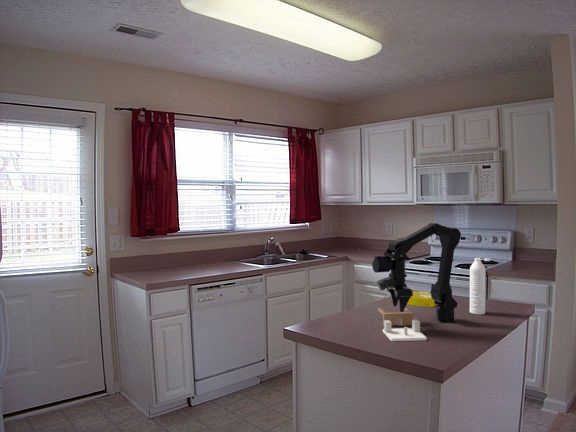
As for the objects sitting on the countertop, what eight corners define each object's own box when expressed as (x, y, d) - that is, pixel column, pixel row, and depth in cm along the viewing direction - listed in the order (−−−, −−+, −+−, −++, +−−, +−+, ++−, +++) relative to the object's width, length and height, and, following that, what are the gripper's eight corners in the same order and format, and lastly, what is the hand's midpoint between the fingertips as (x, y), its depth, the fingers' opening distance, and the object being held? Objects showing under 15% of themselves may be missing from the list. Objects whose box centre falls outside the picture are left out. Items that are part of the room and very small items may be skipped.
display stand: (382, 331, 170) (382, 319, 170) (415, 330, 171) (415, 318, 171) (391, 341, 158) (391, 327, 158) (426, 340, 159) (426, 327, 159)
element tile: (441, 302, 220) (441, 292, 220) (434, 308, 207) (434, 298, 207) (411, 298, 228) (411, 289, 228) (403, 304, 215) (403, 295, 215)
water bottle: (467, 313, 196) (467, 257, 195) (472, 310, 201) (472, 256, 200) (487, 316, 190) (487, 259, 190) (492, 313, 195) (492, 258, 194)
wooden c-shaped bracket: (378, 319, 187) (377, 308, 187) (405, 319, 188) (405, 307, 188) (384, 326, 178) (384, 313, 177) (413, 325, 178) (413, 313, 178)
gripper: (372, 268, 187) (373, 304, 187) (384, 275, 168) (385, 315, 169) (398, 267, 187) (398, 303, 188) (413, 274, 169) (413, 314, 169)
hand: (398, 309), depth 179 cm, fingers open, 9 cm apart
